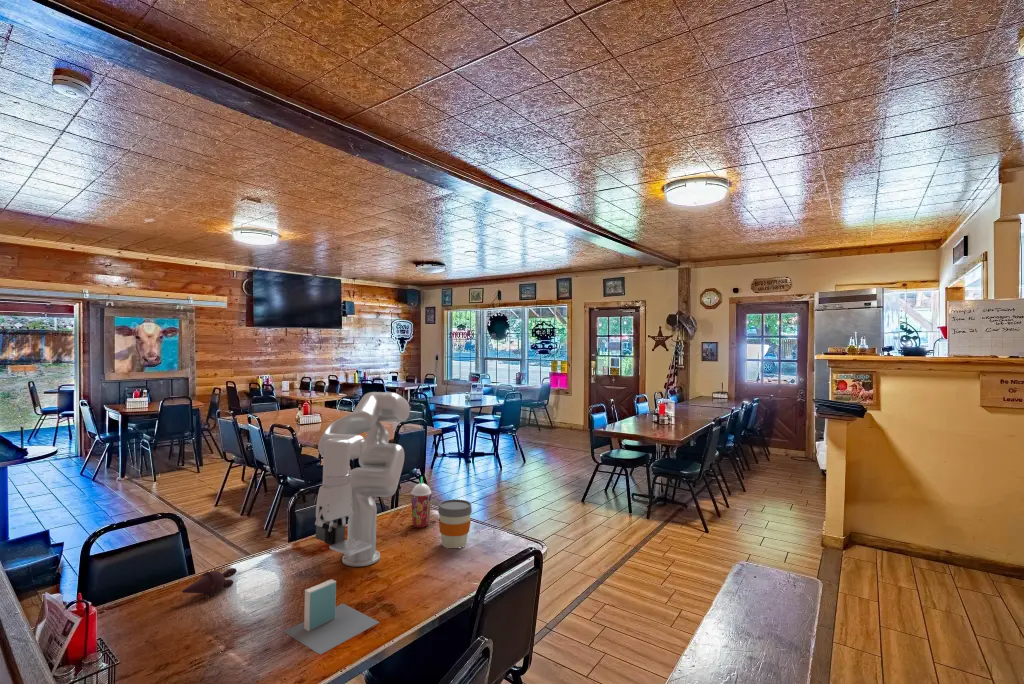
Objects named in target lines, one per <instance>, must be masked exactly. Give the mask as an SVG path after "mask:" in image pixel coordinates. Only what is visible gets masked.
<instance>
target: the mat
mask: <svg viewBox="0 0 1024 684" xmlns="http://www.w3.org/2000/svg"><path fill="white" fill-rule="evenodd" d="M378 624H380V621H378V620H376V619H374V618H372V617H370V616H369V615H366V614H365V613H362V612H361V611H359V610H356V609H354V608H353V607H351V606H349V605H347V604H345V603H340V604H338V605H336V607H335V618H334V619H332V620H330V621H328V622H326V623H324V624H322V625H320V626H318V627H316V628H314V629H312V630H310V631H307V630H306V629H304V621H302V622H299V623H298V624H296V625H294V626H291V627H290V628H287V629H285V630H283V631H282V632H283V633H285V634H286V635H288V636H289V637H291V638H293V639H294V640H296V641H297V642H299V643H301V644H302V645H304V646H305V647H307V648H309V649H310V650H312V651H313V652H314V653H317V654H318V655H320V656H321V655H323V654H324V653H326V652H328V651H330V650H332V649H333V648H335V647H337V646H339V645H341V644H343V643H345V642H347V641H348V640H350V639H353V638H354V637H357V636H358V635H359V634H361V633H364V632H365V631H366V630H369V629H370V628H372V627H373V626H376V625H378Z"/></svg>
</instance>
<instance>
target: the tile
mask: <svg viewBox="0 0 1024 684" xmlns="http://www.w3.org/2000/svg"><path fill="white" fill-rule="evenodd" d="M336 594H337V580H334V579H333V578H331V579H328V580H325V581H324V582H321V583H319V584H317V585H314V586H311V587H310V588H309V587H308V588H306V589H304V609H303V610H304V613H303V616H304V619H303V620H304V621H303V622H304V629H306V630H307V631H310V630H312V629H314V628H316V627H318V626H320V625H322V624H324V623H326V622H328V621H330V620H332V619H334V618H335V607H336V606H337V605H336V601H337V600H336V599H337V598H336V596H337V595H336Z"/></svg>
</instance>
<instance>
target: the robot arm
mask: <svg viewBox="0 0 1024 684" xmlns="http://www.w3.org/2000/svg"><path fill="white" fill-rule="evenodd" d="M410 411H411V409H410V404H409V402H408V400H407V399H406V398H404V397H403V396H402V395H400V394H398V393H396V392H391V391H390V392H389V391H388V392H387V391H386V392H384V391H383V392H382V391H378V392H377V391H372V392H371V391H370V392H367V393H364V395H363V396H362V397H361V399H360V400H359V402H358V403H357V405H356V406H355V408H354V409H353V411H352V413H349V414H347V415H344V416H343V417H341V418H338V419H336V420H334V421H333V422H331V423H330V424H329V425H328V426H327V427H326V429H325V430H324V432H323V433H322V434H321V436H320V439H319V441H318V446H317V450H318V453H319V454H320V456H321V457H322V458H323V462H322V465H323V466H322V485H321V486H320V487H319V489H318V494H317V498H316V506H315V507H316V508H315V518H316V519H315V522H314V525H315V526H316V525H317V526H320V527H322V528H323V530H325V542H324V543H325V544H327V545H329V546H330V545H333V540H334V531H332V527H333V522H334V521H335V520H336V523H337V524H340V525H343V526H345V527H346V526H347V539H350V538H354V539H357V540H360V541H363V542H366V543H369V544H372V548H369V549H366V550H364V551H361V552H359V553H356V554H353V555H351V556H349V555H346V554H344V555H343V556H342V559H341V560H342V561H341V562H342V563H343V564H344V565H345V566H349V567H355V568H357V567H366V566H371V565H373V564H375V563H377V562H379V560H380V558H381V553H380V551H378V550H377V517H378V515H377V514H378V508H377V505H376V501H375V500H374V498H373V497H376V498H377V497H378V498H379V497H380V498H389V497H393V496H394V495H395V493H396V492H397V489H398V485H399V483H400V477H401V474H402V472H403V468H404V463H405V450H404V448H403V446H402V445H401V444H398V443H391V442H389V441H390V438H391V437H390V433H389V430H387V428H386V426H385V425H383V423H382V422H392V423H403V422H406V421H407V420H408V418H409V416H410ZM364 433H366V436H365V437H363V436H362V435H361V434H364ZM356 459H358V464H359V466H360V467H355V468H353V469H351V470H350V468H351V467H350V465H351V463H350V461H351V460H356ZM322 520H324V523H323V522H322ZM346 524H347V525H346Z"/></svg>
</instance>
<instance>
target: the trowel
mask: <svg viewBox="0 0 1024 684" xmlns="http://www.w3.org/2000/svg"><path fill="white" fill-rule="evenodd" d="M322 522H323V523H324V519H323V520H322ZM332 531H334V540H333V545H329V550H332V551H336V552H338V553H340V554H344V555H345V554H346V555H349V556H351V555H353V554H356V553H359V552H361V551H364V550H366V549H369V548H372V544H369V543H366V542H363V541H360V540H357V539H354V538H350V539H348V538H347V539H345V538H346V526H343V525H340V524H337V522H334V521H333V527H332ZM315 539H316V540H319V541H322V542H324V543H325V530H323V528H322V527H320V526H317V525H315Z"/></svg>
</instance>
